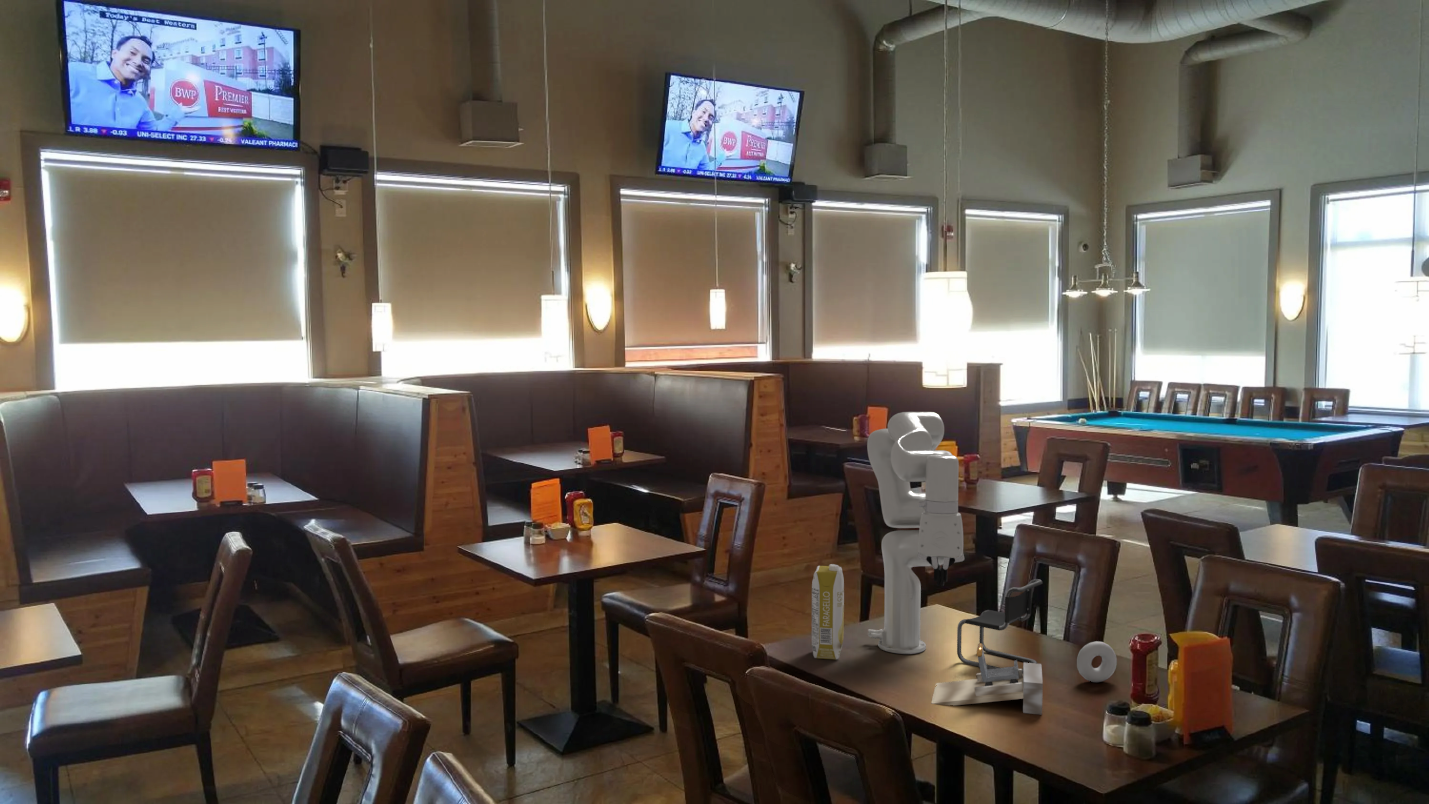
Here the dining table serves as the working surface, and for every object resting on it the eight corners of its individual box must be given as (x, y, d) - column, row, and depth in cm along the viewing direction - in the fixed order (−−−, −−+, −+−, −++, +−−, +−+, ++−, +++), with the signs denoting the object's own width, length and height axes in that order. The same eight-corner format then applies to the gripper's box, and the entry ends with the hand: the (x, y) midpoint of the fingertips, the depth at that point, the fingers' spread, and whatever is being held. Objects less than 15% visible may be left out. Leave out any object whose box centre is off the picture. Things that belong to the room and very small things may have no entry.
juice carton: (841, 661, 258) (842, 569, 257) (810, 659, 260) (811, 567, 259) (844, 650, 268) (844, 561, 266) (814, 648, 269) (814, 560, 268)
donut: (1080, 685, 240) (1081, 644, 240) (1073, 680, 244) (1074, 640, 243) (1119, 683, 242) (1120, 642, 241) (1111, 678, 245) (1112, 638, 245)
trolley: (975, 688, 229) (976, 651, 229) (977, 679, 236) (977, 642, 235) (1018, 693, 226) (1019, 655, 226) (1018, 683, 233) (1019, 646, 232)
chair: (1019, 677, 246) (1020, 588, 245) (955, 661, 258) (957, 577, 257) (1042, 664, 256) (1044, 579, 254) (980, 650, 268) (982, 568, 266)
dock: (931, 707, 229) (931, 673, 228) (936, 687, 242) (936, 654, 242) (1041, 718, 222) (1042, 683, 221) (1040, 697, 235) (1041, 663, 235)
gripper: (907, 508, 234) (906, 586, 235) (973, 511, 229) (972, 590, 231) (910, 503, 241) (909, 578, 242) (975, 506, 237) (973, 583, 238)
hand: (940, 584), depth 236 cm, fingers closed
